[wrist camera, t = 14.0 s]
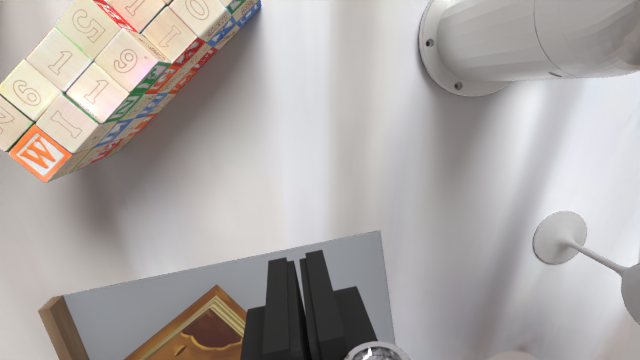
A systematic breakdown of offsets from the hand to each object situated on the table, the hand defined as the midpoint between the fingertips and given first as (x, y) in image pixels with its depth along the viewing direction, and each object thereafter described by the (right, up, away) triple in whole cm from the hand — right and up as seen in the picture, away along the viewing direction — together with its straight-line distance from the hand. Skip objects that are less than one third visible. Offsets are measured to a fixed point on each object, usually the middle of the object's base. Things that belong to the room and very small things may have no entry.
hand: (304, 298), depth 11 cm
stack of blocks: (-15, +16, +25) cm, 33 cm away
